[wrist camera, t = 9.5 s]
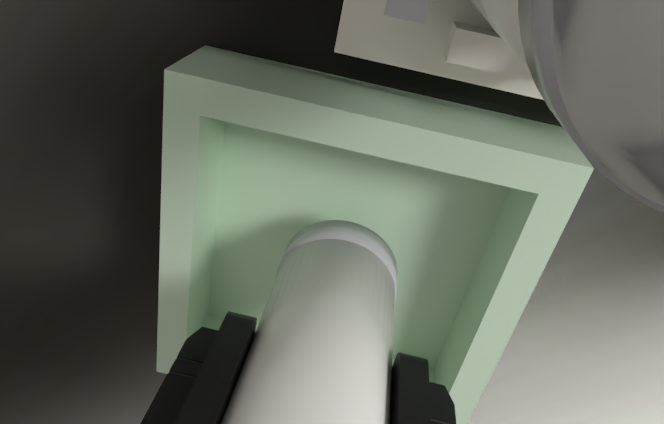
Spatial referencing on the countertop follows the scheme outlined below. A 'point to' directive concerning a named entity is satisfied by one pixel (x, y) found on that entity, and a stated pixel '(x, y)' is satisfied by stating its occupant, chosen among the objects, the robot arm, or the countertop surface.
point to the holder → (432, 41)
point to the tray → (357, 203)
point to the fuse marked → (323, 333)
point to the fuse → (597, 79)
